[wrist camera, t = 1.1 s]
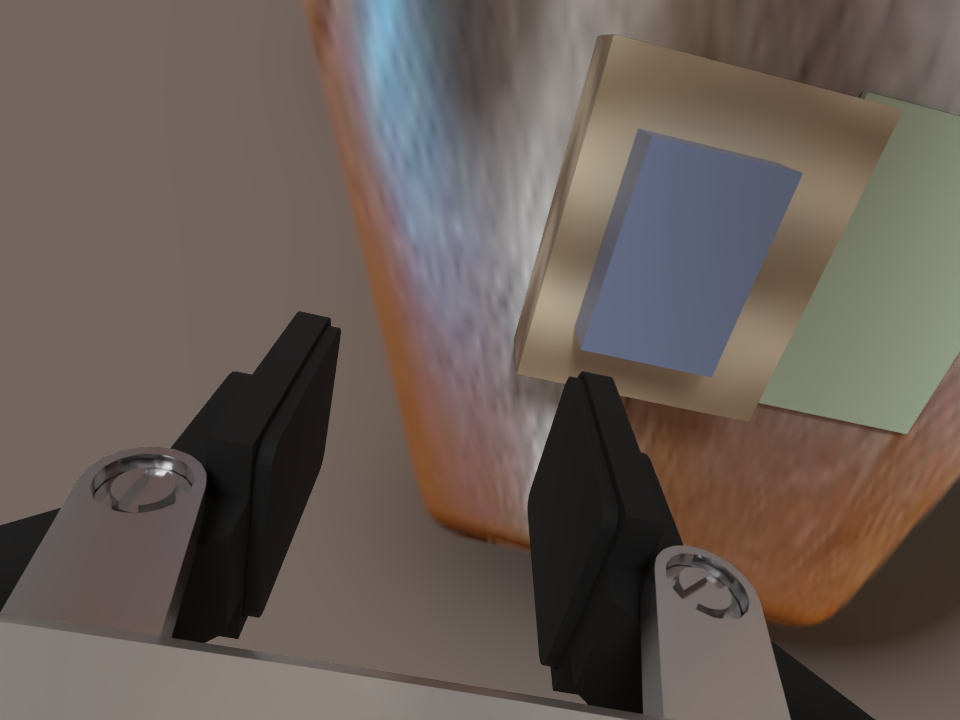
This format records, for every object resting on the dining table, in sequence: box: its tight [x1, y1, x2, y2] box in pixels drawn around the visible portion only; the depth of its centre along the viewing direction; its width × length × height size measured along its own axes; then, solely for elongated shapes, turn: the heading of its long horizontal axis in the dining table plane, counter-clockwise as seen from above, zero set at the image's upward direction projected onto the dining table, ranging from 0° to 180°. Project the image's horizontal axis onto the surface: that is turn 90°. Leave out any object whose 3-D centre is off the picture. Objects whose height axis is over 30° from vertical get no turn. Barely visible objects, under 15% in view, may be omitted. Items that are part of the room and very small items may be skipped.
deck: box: [514, 34, 904, 422], centre depth 29 cm, size 15×12×4 cm
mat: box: [759, 92, 960, 434], centre depth 32 cm, size 16×11×1 cm
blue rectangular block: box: [574, 128, 803, 378], centre depth 26 cm, size 9×6×2 cm, turn 167°
